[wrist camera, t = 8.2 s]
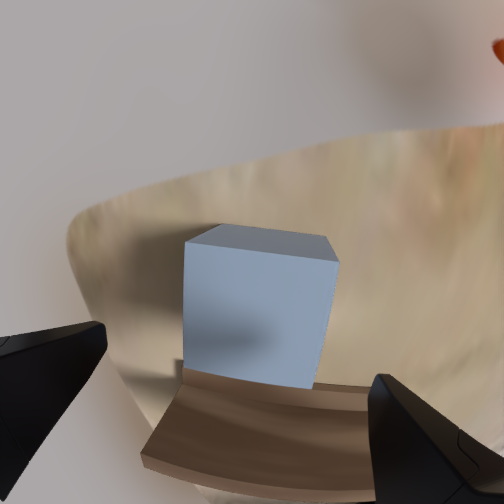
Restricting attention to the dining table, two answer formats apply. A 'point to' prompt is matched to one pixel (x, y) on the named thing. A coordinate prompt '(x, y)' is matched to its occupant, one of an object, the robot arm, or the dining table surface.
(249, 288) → the letter cube
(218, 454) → the wooden l bracket
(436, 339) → the dining table surface
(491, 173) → the dining table surface
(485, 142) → the dining table surface
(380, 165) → the dining table surface
